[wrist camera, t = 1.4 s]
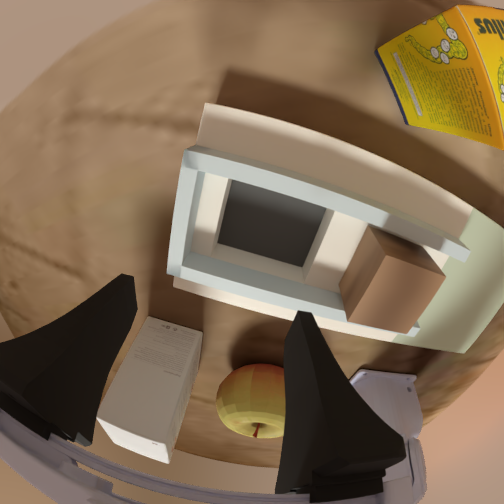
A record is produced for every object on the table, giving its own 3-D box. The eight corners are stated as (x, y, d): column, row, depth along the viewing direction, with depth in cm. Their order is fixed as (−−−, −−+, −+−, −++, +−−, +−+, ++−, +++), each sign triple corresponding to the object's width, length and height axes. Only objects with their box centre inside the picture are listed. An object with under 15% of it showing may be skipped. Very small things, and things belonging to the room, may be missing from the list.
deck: (519, 240, 17) (543, 262, 13) (456, 338, 24) (469, 365, 20) (215, 103, 16) (194, 101, 12) (182, 270, 23) (164, 302, 19)
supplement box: (433, 37, 11) (529, 11, 2) (461, 108, 14) (566, 131, 4) (370, 49, 13) (454, 1, 4) (403, 126, 15) (508, 154, 6)
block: (422, 246, 17) (446, 277, 13) (391, 299, 19) (406, 334, 16) (367, 225, 17) (386, 254, 13) (338, 284, 19) (347, 321, 16)
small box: (147, 313, 27) (92, 415, 15) (204, 330, 27) (166, 445, 16) (150, 357, 31) (112, 443, 19) (198, 372, 31) (170, 465, 20)
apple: (231, 394, 33) (221, 446, 26) (215, 349, 28) (197, 411, 21) (305, 395, 31) (305, 449, 24) (307, 349, 27) (308, 416, 20)
